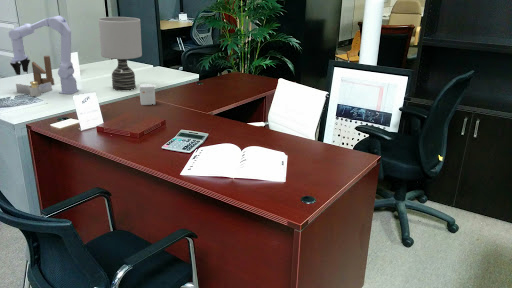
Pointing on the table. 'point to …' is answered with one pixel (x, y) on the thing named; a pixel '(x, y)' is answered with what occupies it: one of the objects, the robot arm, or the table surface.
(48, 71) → the brown wooden frame
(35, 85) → the hinge pin
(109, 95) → the table surface
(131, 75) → the lamp
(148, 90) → the small box
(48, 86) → the steel hinge
